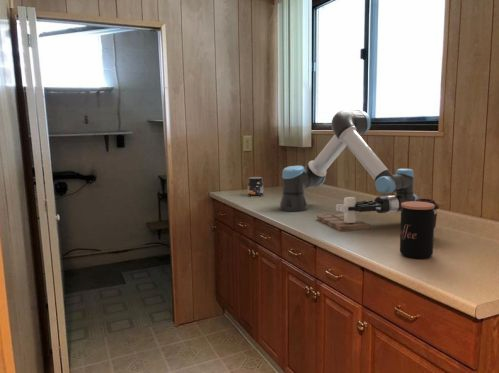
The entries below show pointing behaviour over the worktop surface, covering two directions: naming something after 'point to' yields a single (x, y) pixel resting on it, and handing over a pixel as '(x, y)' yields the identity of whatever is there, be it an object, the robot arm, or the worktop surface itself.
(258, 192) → the supplement container
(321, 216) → the board
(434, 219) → the coffee cup
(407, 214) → the coffee jar
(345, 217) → the fader tab
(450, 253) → the worktop surface
